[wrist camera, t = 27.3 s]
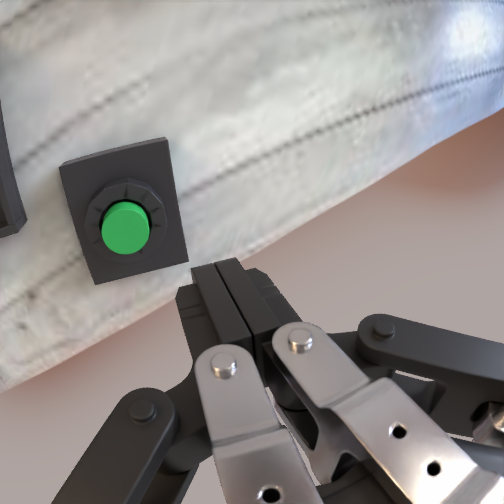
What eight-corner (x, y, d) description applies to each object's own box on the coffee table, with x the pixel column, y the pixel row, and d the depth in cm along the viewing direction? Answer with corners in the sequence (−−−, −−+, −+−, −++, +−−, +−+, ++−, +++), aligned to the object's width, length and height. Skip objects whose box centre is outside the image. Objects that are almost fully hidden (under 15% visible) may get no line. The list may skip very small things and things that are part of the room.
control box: (64, 162, 22) (53, 172, 19) (165, 136, 24) (170, 142, 21) (96, 273, 27) (93, 296, 24) (185, 251, 30) (193, 271, 27)
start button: (98, 207, 22) (95, 215, 20) (142, 196, 22) (143, 203, 21) (110, 249, 23) (109, 259, 22) (152, 238, 24) (153, 248, 23)
